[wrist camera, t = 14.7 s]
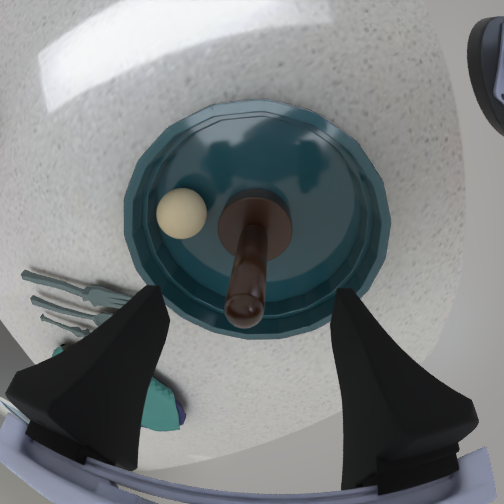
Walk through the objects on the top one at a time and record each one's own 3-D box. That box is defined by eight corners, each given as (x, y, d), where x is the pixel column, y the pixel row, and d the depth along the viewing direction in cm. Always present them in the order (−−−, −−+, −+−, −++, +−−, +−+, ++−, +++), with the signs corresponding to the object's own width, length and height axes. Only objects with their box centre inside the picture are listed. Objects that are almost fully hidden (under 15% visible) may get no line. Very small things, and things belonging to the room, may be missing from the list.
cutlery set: (83, 396, 38) (79, 406, 36) (16, 257, 22) (4, 269, 20) (190, 429, 39) (187, 441, 37) (185, 299, 23) (177, 319, 21)
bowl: (403, 143, 15) (430, 157, 12) (324, 320, 23) (329, 353, 20) (159, 82, 14) (133, 82, 11) (144, 281, 22) (128, 310, 19)
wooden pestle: (296, 193, 17) (313, 285, 9) (285, 254, 19) (288, 362, 12) (223, 183, 17) (183, 268, 9) (219, 246, 19) (188, 349, 12)
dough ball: (193, 202, 14) (150, 184, 15) (182, 253, 15) (142, 232, 16) (221, 194, 17) (182, 179, 17) (209, 239, 18) (172, 221, 19)
